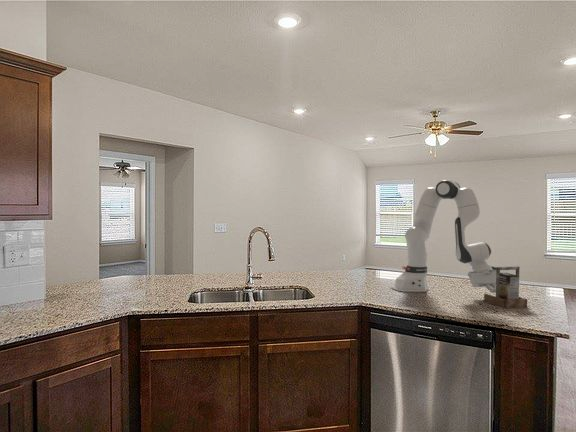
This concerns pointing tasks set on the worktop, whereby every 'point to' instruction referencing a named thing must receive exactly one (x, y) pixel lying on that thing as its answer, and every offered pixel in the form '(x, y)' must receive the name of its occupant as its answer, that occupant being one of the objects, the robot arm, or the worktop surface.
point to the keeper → (501, 302)
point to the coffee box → (509, 286)
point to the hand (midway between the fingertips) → (494, 292)
